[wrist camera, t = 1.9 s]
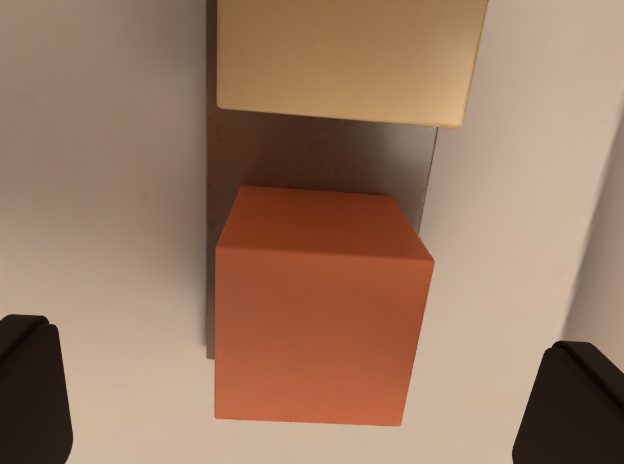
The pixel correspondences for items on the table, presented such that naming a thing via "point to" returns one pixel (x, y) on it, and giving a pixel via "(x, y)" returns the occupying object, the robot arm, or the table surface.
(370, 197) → the orange cube
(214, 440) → the table surface
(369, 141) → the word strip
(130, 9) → the table surface
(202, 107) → the table surface
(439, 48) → the light wood cube
